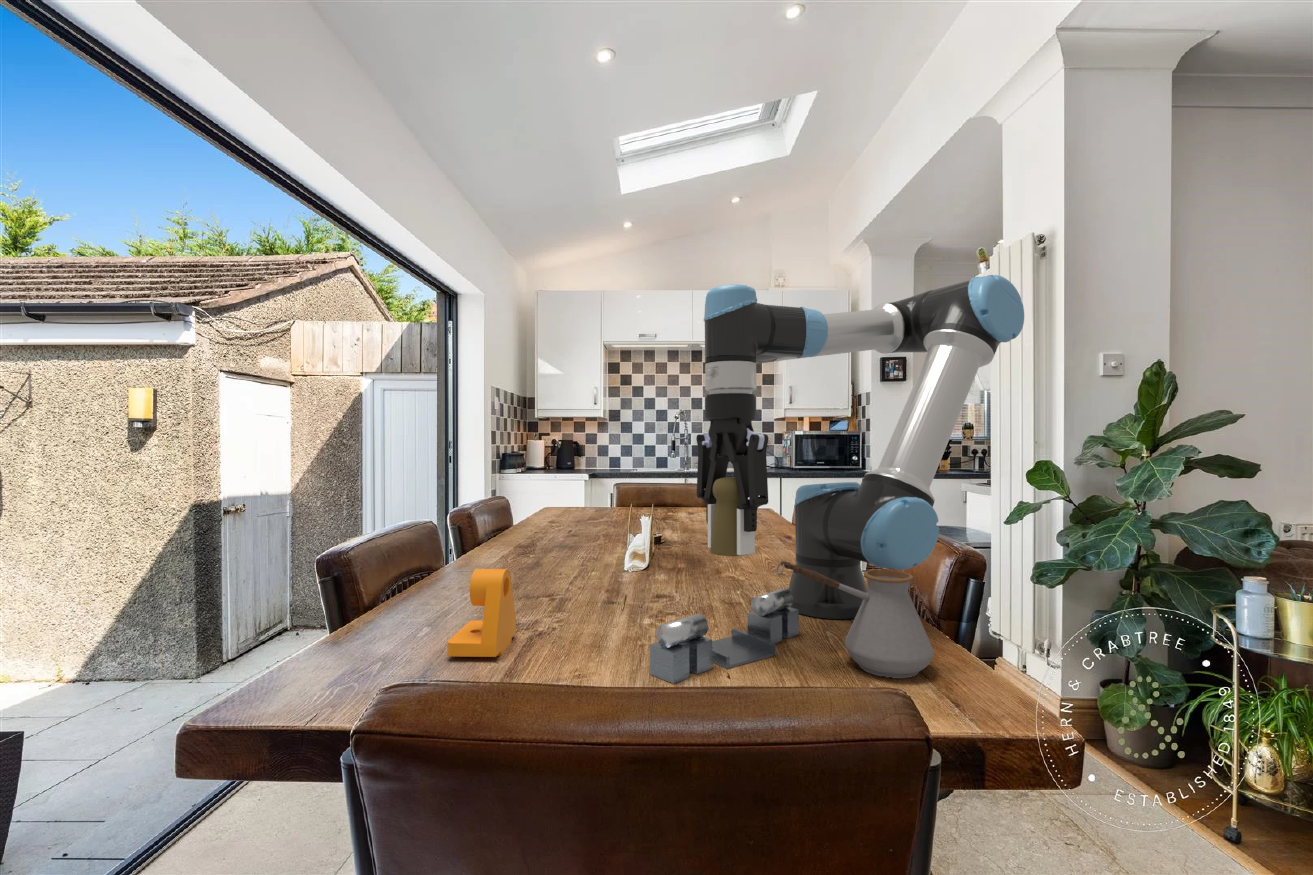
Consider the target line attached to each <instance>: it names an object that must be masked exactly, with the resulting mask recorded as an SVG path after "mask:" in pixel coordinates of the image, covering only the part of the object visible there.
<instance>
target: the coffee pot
mask: <svg viewBox="0 0 1313 875" xmlns="http://www.w3.org/2000/svg"><path fill="white" fill-rule="evenodd" d="M780 566H782V569H781V571H780V573H779V568H780ZM785 569H786V570H792V572H793V571H794V573H800V574H802V575H804V576H805V577H807V578H809V579H810V580H813V581H816V582H819V583H822V584H825V585H828V586H831V587H834V588H838V589H841V590H843V591H845V592H848V593H850V594H852V595H855V596H857V597H859V598H862V599H863V601H862V604H861V606H860V608H859V610H858V612H857V615H856V617H855V618H853V620H852V623H851V626H850V628H849V630H848V632H847V635H846V637H845V639H844V647H845V649H846V652H847V653H848V655H849V656H850V658H851V659H852V660H853V661H854V662H855V663H857V664H858V666H859V668H860V669H862V670H863V671H865V672H867V673H869V674H872V675H874V676H879V677H882V676H886V677H885V678H889V677H892V679H907V678H908V679H909V678H913V677H915V676H917V675H918V674H919V672H921V671H922V670H924V669H925V668H927V667H928V666H929V665H930V663H931V662H932V660H933V657H934V655H935V652H934V651H935V650H934V649H933V646H932V643H931V642H930V640H929V636H928V634H927V632H926V630H925V628H924V625H923V622H922V620H921V618H920V616H919V614H918V611H917V609H916V607H915V604H914V602H913V599H912V598H911V595H910V593H909V588H910V584H911V582H912V581H913V580H914V576H913V575H912V574H911V573H908V572H905V571H902V570H896V569H885V568H882V569H880V568H874V569H869V570H865V571H864V572H863V577H864V578H865V579H866V582H867V585H868V588H867V593H865V592H862V591H859V590H857V589H854V588H851V587H849V586H846V585H843V584H840V583H839V582H837V581H835V580H833V579H831V578H828V577H826V576H824V575H822V574H820V573H818V572H815V571H812V570H808V569H804V568H801V567H800V566H799V565H794V564H792V563H791V562H789V561H783V560H781V562H780V563H778V565H777V567H776V571H775V572H776V573H775V574H776V576H778V577H779V576H781V575H782V574H783V573H784V570H785ZM912 676H913V677H912Z"/></svg>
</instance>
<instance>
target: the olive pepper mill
mask: <svg viewBox="0 0 1313 875" xmlns="http://www.w3.org/2000/svg"><path fill="white" fill-rule="evenodd" d="M713 494H714V497H715V498H716V500H717V501H716V509H715V517H714V525H713V532H712V540H711V548H709V553H710V554H712V555H715V556H723V557H743V556H745V555H741V556H740V555H737V509H738V508H737V506H739V505H741V503H740V498H739V493H738V488H737V484H736V479H735V476H729V477H728V476H726V477H724V478H720V479H717V480H716V481H715V482H714V484H713ZM749 555H750V554H748V555H747V556H749Z"/></svg>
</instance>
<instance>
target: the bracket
mask: <svg viewBox="0 0 1313 875" xmlns="http://www.w3.org/2000/svg"><path fill="white" fill-rule="evenodd" d="M512 584H513V583H512V576H511V572H510V569H508V568H476V569H474V571H473V572H472V575H471V578H470V582H469V599H470V603H471V605H472V606H473V607H483V609H484V610H483V619H482V620H481V619H480V620H478V619H477V620H471V621H468V622H467V623H466V624H465V625H464V626H463V627H462V628H461V629H460V630H458V631H457V632H456V633H455V634H454V635H453V636H452V637H451V638H449V639H448V640H447V656H448V657H471V658H472V657H473V658H474V657H475V658H477V657H479V658H484V657H485V658H487V657H488V658H489V657H490V658H492V657H493V658H496V657H497V656H498V657H499V656H502V655H503V654H505V651H506V650H507V649H508V648H509V647H510V645H511V644H512V642H513V641H512V638H513V637H514V635H515V634H516V633H517V618H516V612H515V610H516V609H515V602H514V593H513V585H512Z"/></svg>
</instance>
